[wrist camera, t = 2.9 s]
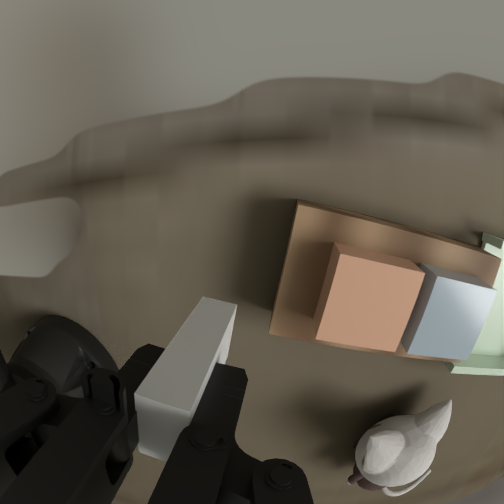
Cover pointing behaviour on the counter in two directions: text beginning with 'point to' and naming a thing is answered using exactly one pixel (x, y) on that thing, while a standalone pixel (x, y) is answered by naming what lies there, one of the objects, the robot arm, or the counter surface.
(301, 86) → the counter surface
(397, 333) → the tile
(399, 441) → the toy
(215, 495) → the robot arm
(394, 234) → the board
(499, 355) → the tray
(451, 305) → the tile
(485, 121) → the counter surface
